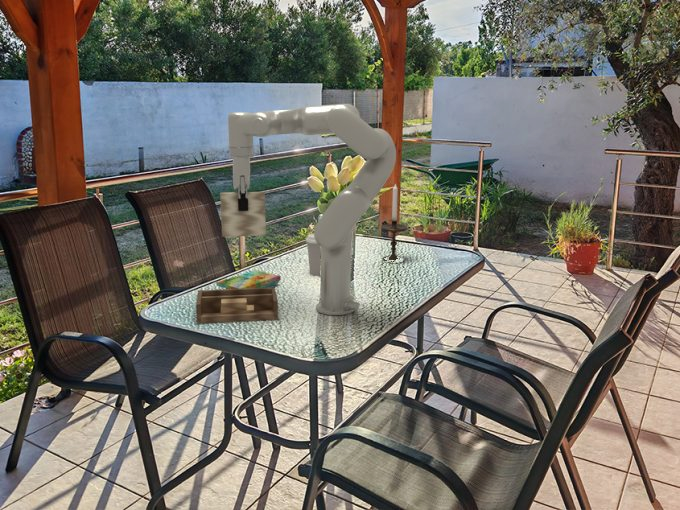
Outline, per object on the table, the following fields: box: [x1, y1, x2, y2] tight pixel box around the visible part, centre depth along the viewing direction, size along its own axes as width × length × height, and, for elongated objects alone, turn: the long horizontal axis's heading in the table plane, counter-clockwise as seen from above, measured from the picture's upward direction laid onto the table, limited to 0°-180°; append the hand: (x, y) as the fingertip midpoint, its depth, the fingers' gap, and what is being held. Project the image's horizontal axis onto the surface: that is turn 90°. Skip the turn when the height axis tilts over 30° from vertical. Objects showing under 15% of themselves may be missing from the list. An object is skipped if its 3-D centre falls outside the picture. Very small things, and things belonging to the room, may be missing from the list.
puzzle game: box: [216, 269, 281, 289], centre depth 230 cm, size 12×5×20 cm
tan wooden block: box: [221, 298, 254, 315], centre depth 199 cm, size 10×5×5 cm, turn 99°
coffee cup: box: [305, 232, 321, 277], centre depth 248 cm, size 10×10×15 cm
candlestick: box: [380, 177, 408, 262], centre depth 265 cm, size 11×11×35 cm
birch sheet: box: [219, 191, 267, 238], centre depth 208 cm, size 14×2×14 cm, turn 99°
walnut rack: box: [195, 286, 279, 325], centre depth 201 cm, size 24×14×7 cm, turn 99°
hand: (243, 210), depth 208 cm, fingers closed on birch sheet, 1 cm apart
